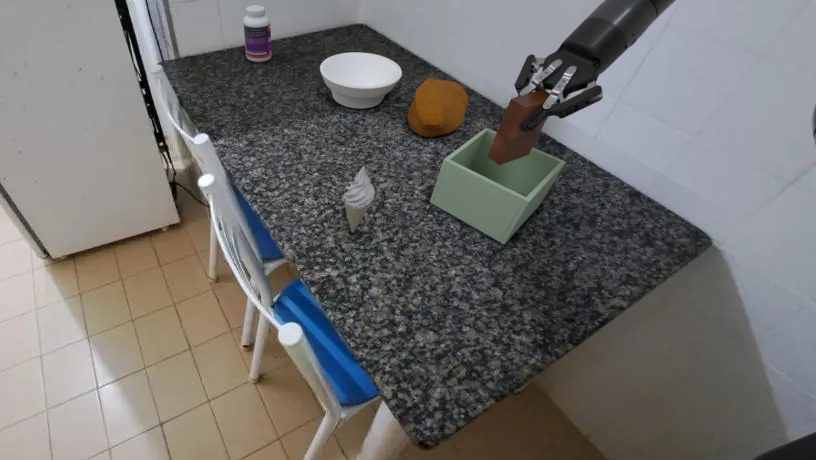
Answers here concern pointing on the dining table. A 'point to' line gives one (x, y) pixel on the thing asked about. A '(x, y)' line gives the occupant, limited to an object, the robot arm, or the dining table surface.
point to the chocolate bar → (517, 128)
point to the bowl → (360, 78)
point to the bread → (437, 108)
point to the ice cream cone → (358, 198)
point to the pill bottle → (257, 34)
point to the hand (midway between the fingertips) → (515, 123)
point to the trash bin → (493, 186)
